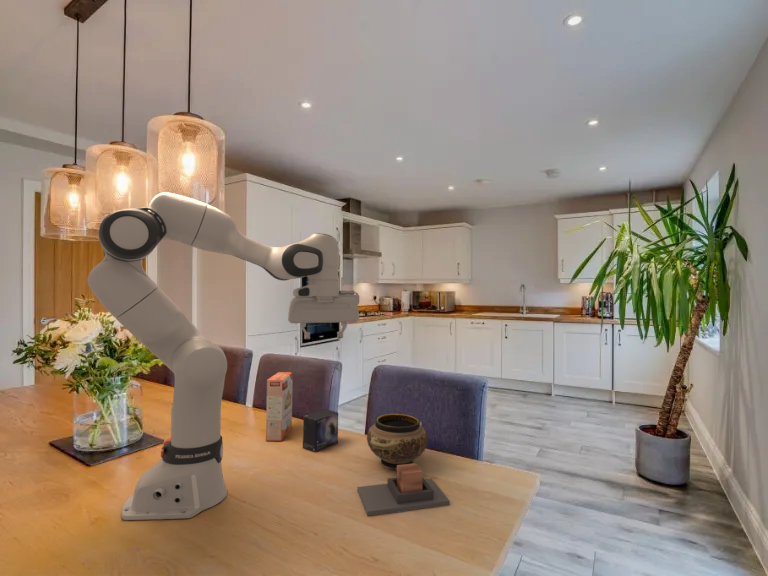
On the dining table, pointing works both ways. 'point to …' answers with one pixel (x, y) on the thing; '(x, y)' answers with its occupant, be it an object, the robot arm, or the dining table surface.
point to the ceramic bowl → (397, 439)
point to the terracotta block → (409, 478)
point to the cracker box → (279, 406)
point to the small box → (320, 430)
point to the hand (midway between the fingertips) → (323, 338)
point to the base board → (400, 497)
